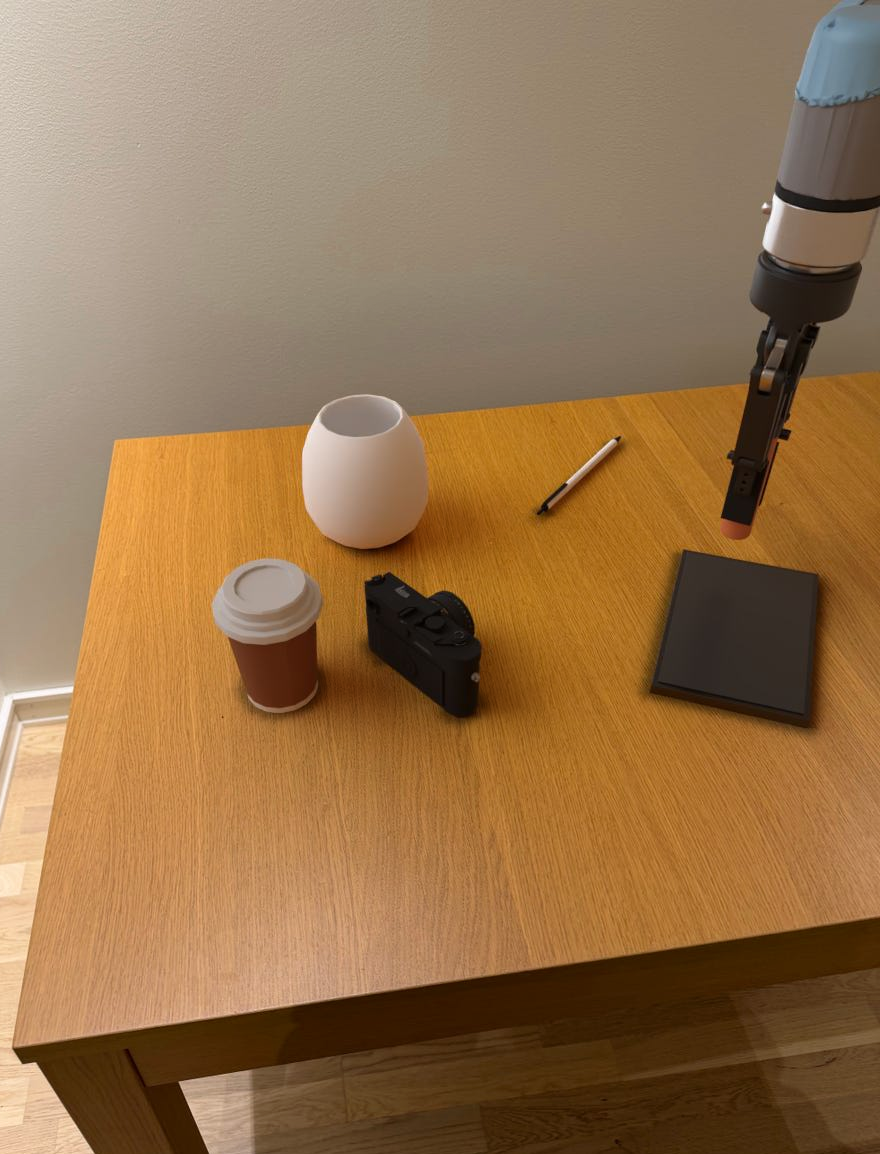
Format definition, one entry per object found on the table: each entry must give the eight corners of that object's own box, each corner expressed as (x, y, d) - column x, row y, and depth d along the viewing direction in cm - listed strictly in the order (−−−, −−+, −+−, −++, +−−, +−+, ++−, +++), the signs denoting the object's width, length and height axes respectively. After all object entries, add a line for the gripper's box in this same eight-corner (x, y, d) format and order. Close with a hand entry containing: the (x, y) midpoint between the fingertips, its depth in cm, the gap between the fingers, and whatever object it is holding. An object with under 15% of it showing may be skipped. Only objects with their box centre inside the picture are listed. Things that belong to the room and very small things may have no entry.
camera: (519, 688, 81) (525, 621, 76) (461, 730, 78) (462, 663, 72) (412, 610, 89) (410, 544, 84) (355, 645, 86) (349, 579, 81)
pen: (534, 515, 100) (534, 507, 99) (617, 438, 110) (618, 430, 110) (541, 518, 99) (542, 510, 98) (623, 440, 110) (625, 432, 109)
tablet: (681, 556, 94) (683, 548, 93) (816, 581, 90) (819, 573, 90) (649, 692, 80) (651, 683, 80) (806, 728, 77) (810, 719, 76)
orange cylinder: (757, 534, 87) (790, 421, 79) (734, 544, 86) (766, 431, 78) (735, 518, 89) (765, 407, 81) (712, 528, 88) (740, 416, 80)
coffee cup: (348, 663, 84) (337, 560, 76) (308, 735, 78) (291, 632, 70) (259, 642, 87) (239, 540, 78) (213, 710, 81) (186, 608, 72)
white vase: (284, 521, 101) (268, 411, 91) (381, 477, 106) (375, 369, 97) (354, 581, 93) (344, 467, 84) (454, 530, 98) (455, 418, 89)
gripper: (786, 214, 76) (725, 458, 92) (732, 284, 66) (675, 544, 82) (882, 228, 73) (802, 478, 89) (841, 304, 63) (760, 569, 79)
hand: (741, 509), depth 86 cm, fingers closed on orange cylinder, 3 cm apart
